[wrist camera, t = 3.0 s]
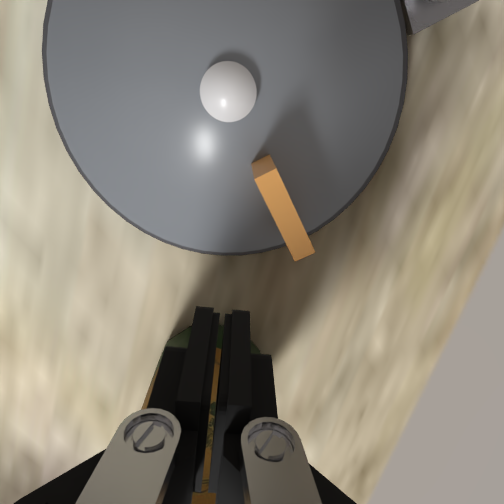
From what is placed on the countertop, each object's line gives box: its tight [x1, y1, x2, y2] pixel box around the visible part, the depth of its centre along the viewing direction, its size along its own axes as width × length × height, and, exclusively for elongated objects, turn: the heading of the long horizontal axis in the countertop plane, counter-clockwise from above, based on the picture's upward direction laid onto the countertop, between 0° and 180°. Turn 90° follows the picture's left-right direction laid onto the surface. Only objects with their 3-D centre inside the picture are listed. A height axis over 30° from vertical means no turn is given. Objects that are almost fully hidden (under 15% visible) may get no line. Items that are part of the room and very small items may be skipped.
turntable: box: [46, 0, 403, 262], centre depth 20 cm, size 19×19×6 cm
